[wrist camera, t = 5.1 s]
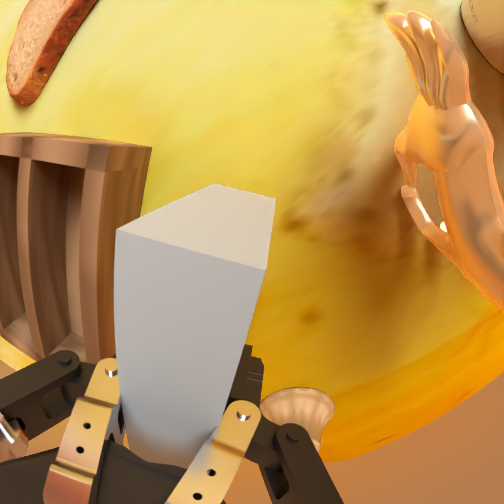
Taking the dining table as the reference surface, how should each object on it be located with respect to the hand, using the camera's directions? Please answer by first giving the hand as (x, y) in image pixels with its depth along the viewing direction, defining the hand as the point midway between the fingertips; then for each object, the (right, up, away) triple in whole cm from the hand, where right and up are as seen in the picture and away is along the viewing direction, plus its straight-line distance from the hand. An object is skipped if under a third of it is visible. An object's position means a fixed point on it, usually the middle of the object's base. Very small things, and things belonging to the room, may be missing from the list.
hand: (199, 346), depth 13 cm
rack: (-15, +5, +9) cm, 18 cm away
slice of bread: (-16, +29, +2) cm, 33 cm away
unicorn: (+15, +10, +5) cm, 18 cm away
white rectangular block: (+1, +2, +5) cm, 5 cm away
